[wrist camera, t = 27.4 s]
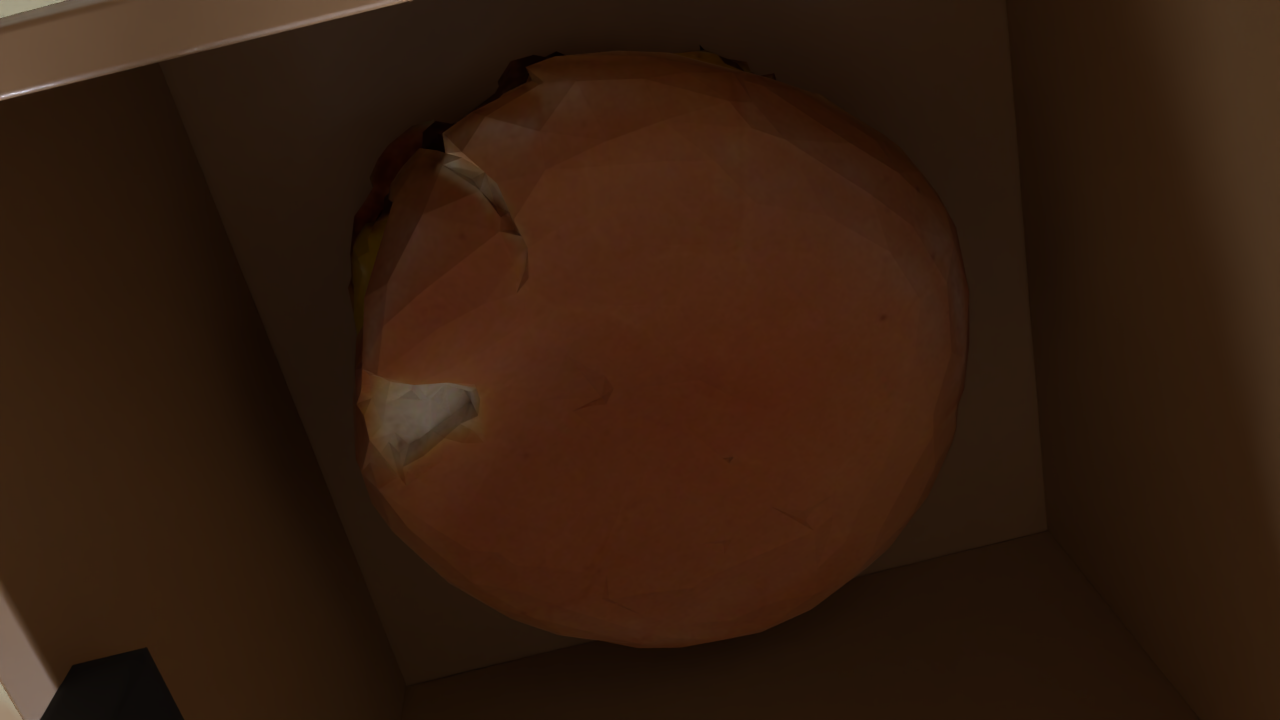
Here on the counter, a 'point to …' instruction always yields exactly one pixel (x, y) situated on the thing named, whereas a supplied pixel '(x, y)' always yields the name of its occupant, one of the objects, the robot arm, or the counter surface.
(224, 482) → the carton
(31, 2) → the counter surface
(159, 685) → the robot arm
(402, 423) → the burger
